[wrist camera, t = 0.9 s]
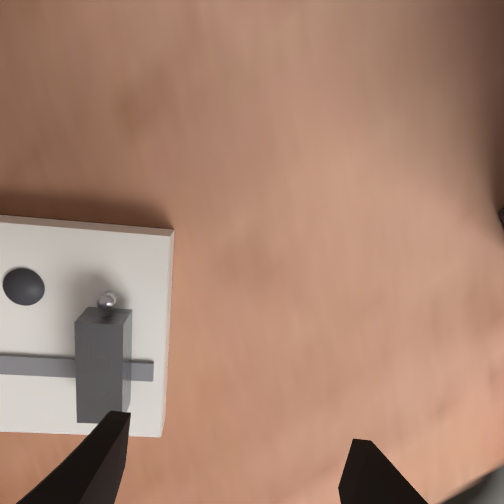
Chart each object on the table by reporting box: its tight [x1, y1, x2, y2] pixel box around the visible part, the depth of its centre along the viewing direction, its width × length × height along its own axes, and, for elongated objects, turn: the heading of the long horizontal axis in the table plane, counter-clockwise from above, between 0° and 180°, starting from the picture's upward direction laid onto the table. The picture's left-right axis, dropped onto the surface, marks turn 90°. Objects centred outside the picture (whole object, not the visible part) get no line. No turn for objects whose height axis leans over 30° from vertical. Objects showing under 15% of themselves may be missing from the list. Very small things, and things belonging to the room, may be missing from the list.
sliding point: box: [74, 290, 132, 424], centre depth 17 cm, size 2×6×2 cm, turn 174°
